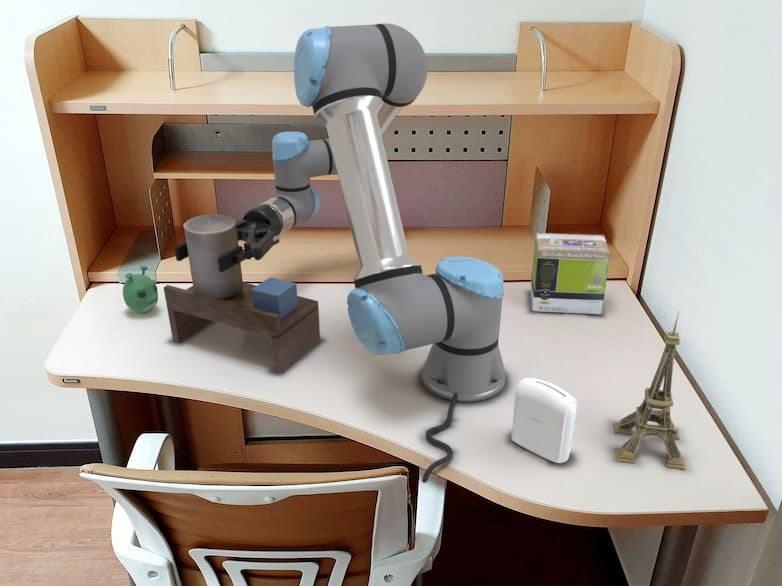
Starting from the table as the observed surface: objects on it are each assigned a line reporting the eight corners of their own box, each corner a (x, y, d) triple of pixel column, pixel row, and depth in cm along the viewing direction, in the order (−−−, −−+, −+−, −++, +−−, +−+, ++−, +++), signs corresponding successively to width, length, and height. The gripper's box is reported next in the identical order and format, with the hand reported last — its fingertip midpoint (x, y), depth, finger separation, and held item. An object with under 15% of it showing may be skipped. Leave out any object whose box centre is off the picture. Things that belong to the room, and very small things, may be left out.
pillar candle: (238, 275, 156) (230, 204, 148) (247, 295, 148) (239, 222, 140) (189, 282, 153) (178, 210, 145) (197, 303, 145) (185, 229, 137)
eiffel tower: (616, 461, 121) (644, 324, 108) (613, 423, 130) (639, 291, 117) (685, 469, 120) (722, 331, 106) (677, 430, 128) (710, 298, 115)
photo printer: (506, 440, 126) (513, 378, 119) (521, 429, 128) (528, 367, 122) (559, 468, 120) (569, 404, 113) (573, 456, 122) (584, 392, 116)
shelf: (320, 340, 153) (317, 287, 146) (280, 373, 142) (275, 317, 136) (217, 312, 162) (210, 260, 156) (172, 341, 152) (163, 287, 145)
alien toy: (145, 323, 158) (137, 279, 153) (119, 314, 161) (110, 271, 156) (170, 310, 163) (163, 267, 158) (144, 301, 166) (136, 259, 161)
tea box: (596, 295, 171) (606, 233, 163) (601, 316, 163) (612, 252, 155) (529, 291, 172) (535, 230, 164) (530, 312, 164) (538, 248, 156)
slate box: (298, 307, 146) (296, 283, 143) (280, 320, 141) (278, 296, 138) (272, 300, 148) (270, 277, 145) (253, 313, 143) (251, 289, 141)
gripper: (313, 247, 157) (248, 290, 141) (227, 228, 166) (156, 266, 149) (311, 213, 153) (244, 252, 137) (223, 195, 162) (149, 230, 145)
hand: (198, 259), depth 143 cm, fingers closed on pillar candle, 10 cm apart
